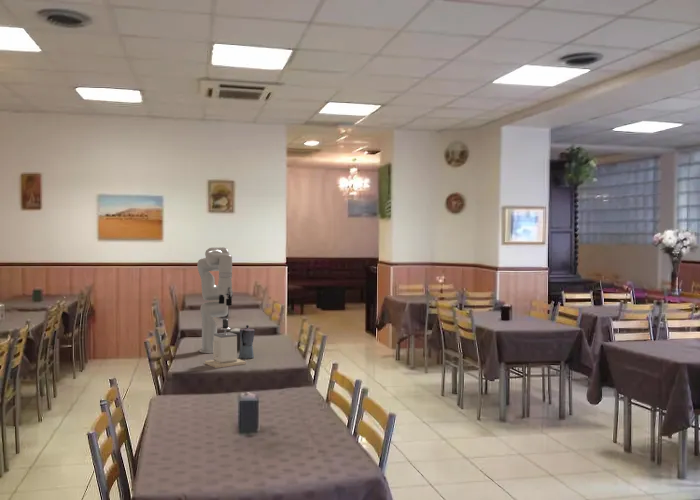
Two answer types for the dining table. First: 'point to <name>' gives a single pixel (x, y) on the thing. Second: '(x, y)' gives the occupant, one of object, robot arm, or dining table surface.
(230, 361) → the white box
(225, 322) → the plunger
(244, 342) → the moka pot
